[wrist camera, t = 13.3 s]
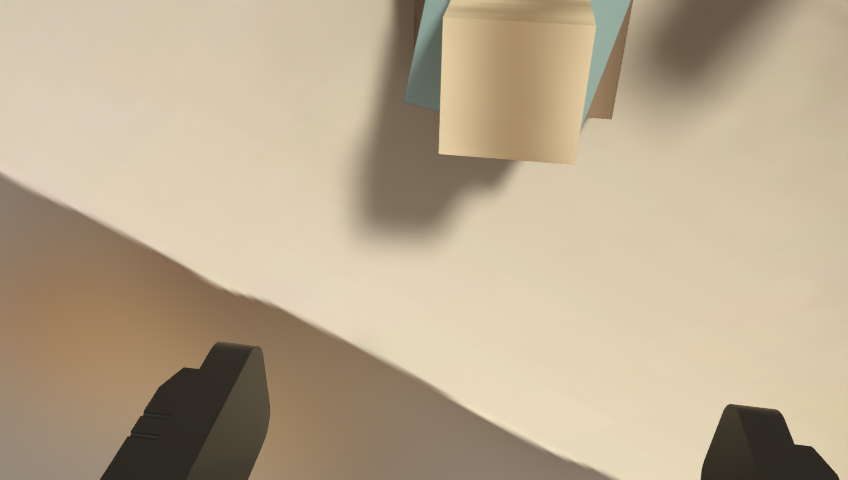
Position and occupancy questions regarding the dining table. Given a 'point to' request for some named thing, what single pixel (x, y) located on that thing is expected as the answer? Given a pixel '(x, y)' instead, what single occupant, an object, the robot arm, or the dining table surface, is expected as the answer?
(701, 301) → the dining table surface
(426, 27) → the tower top
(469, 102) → the maple block
